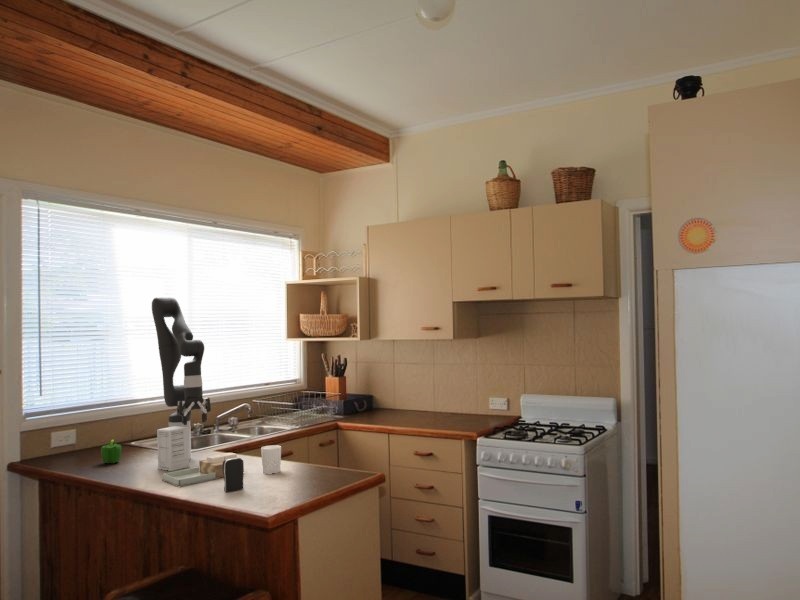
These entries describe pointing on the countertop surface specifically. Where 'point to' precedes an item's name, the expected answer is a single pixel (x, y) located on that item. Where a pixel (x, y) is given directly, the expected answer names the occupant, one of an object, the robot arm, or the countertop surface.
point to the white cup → (271, 458)
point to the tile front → (215, 459)
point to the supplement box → (173, 448)
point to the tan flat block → (212, 468)
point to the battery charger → (233, 474)
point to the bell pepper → (111, 452)
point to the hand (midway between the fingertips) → (194, 423)
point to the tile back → (229, 455)
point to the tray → (187, 477)
